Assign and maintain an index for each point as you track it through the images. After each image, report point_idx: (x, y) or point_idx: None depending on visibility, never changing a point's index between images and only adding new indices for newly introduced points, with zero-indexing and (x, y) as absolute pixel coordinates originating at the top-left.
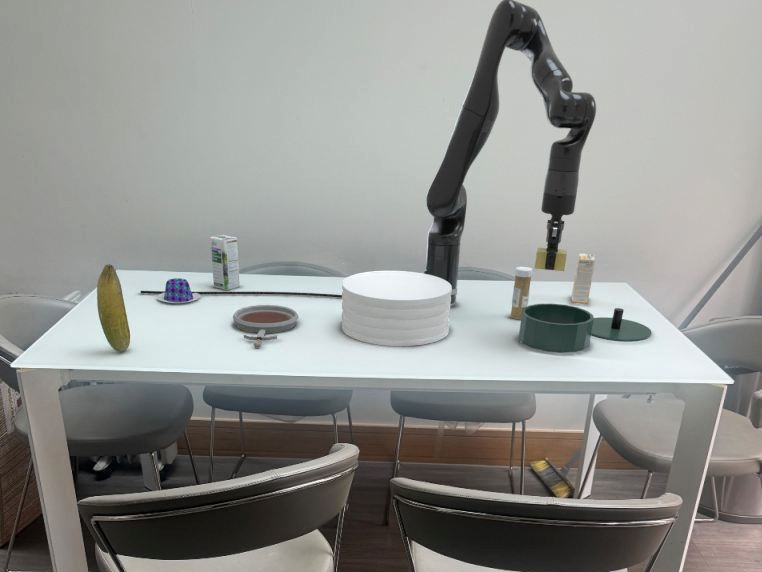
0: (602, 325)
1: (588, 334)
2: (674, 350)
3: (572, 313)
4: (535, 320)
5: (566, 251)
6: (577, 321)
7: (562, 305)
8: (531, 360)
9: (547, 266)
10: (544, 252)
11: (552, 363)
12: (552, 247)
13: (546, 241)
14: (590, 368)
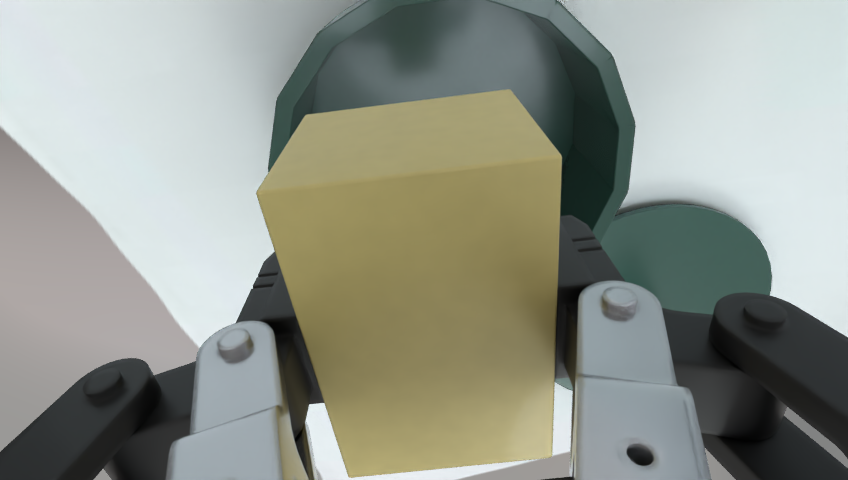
0: (666, 278)
1: None
2: None
3: (581, 218)
4: (280, 93)
5: (469, 464)
6: None
7: (614, 181)
8: (184, 83)
9: (275, 259)
10: (287, 289)
11: (204, 164)
12: (108, 470)
13: (194, 433)
14: (237, 277)
